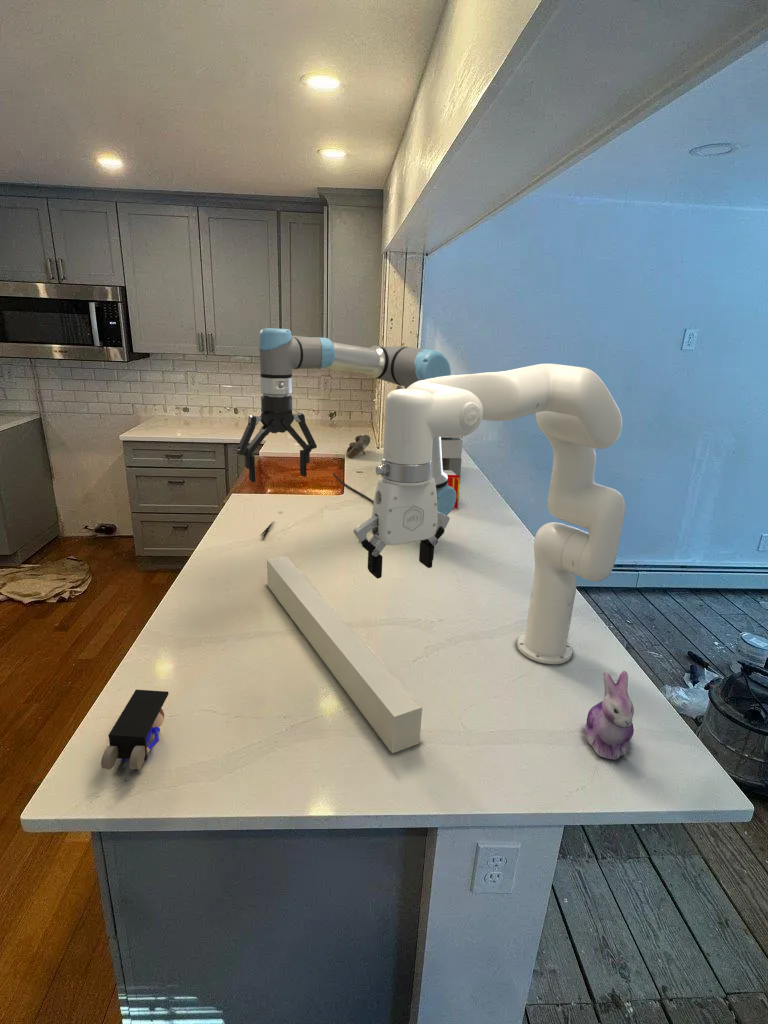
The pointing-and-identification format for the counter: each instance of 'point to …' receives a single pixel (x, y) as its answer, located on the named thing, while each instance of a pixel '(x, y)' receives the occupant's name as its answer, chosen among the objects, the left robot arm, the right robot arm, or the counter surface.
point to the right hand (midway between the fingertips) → (400, 569)
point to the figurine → (611, 719)
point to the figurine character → (135, 730)
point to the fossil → (358, 446)
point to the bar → (348, 657)
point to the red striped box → (453, 483)
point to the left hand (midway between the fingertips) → (278, 478)
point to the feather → (267, 530)
